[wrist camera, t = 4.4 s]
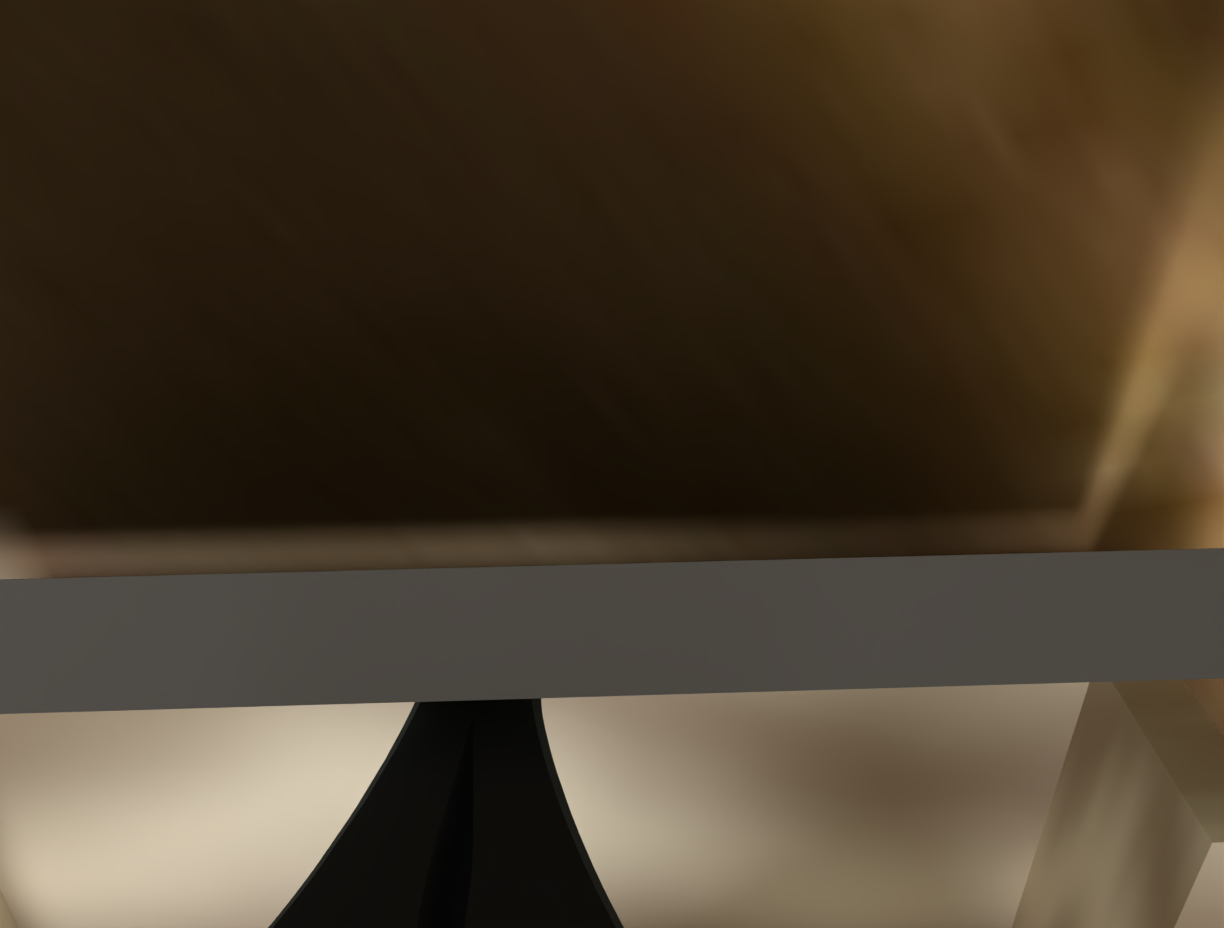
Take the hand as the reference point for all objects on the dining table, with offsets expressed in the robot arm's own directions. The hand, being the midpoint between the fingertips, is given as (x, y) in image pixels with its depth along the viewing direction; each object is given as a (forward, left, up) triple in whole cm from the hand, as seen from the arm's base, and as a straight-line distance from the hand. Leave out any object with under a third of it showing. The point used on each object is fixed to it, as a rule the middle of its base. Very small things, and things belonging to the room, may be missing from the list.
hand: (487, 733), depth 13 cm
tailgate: (-2, 0, -4) cm, 4 cm away
